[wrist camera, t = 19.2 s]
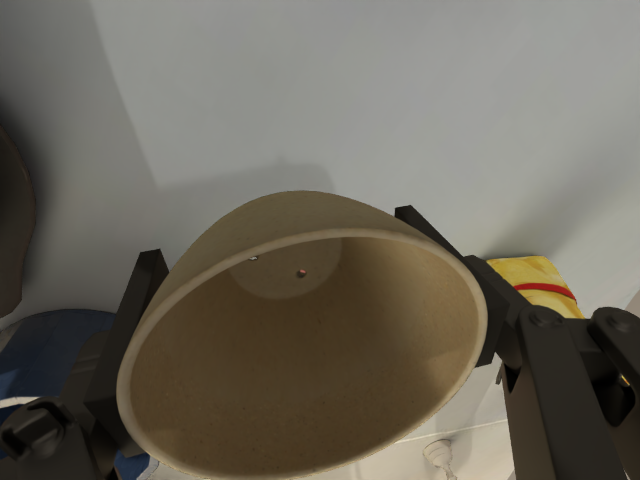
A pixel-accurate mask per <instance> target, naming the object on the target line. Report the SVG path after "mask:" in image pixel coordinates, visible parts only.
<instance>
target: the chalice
mask: <svg viewBox="0 0 640 480" xmlns="http://www.w3.org/2000/svg"><path fill="white" fill-rule="evenodd" d="M423 455H424V456H425V457H427V458H428V460H429V461H430V462H431V463H432V465H434V466H436V467H441V468H442V469H444V471H445V472H446V475H447V478H448V479H447V480H457V477H456V476H454V475H453V473H452V472H451V471H450V467H449V465H450V464H449V463H450V462H451V461H452V454H451V448H450V441H448V440H439V441H436V442H434V443H432V444H430V445H429V446H427V447H426V448H425V450H424V451H423Z"/></svg>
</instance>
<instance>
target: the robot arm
mask: <svg viewBox="0 0 640 480" xmlns="http://www.w3.org/2000/svg"><path fill="white" fill-rule="evenodd" d="M395 218H397V219H399V220H401V221H403V222H405V223H406V224H408V225H410V226H412V227H413V228H415V229H417V230H418V231H420V232H421V233H423V234H424V235H426V236H427V237H429V238H430V239H432V240H434V241H435V242H436V243H438V244H439V245H440V246H442V247H443V248H444V249H446V250H447V251H448V252H450V253H451V254H452V255H453V256H455V257H456V258H457V259H459V260H460V261H461V262H462V263H463V264H464V265H465V266H466V267H467V269H468V270H469V271H470V272H471V273H472V275H473V276H474V278H475V279H476V281H477V282H478V284H479V286H480V288H481V290H482V293H483V295H484V298H485V301H486V307H487V313H488V321H487V331H486V338H485V342H484V345H483V348H482V351H481V354H480V356H479V359H478V361H477V363H476V365H475V367H474V368H476V367H480V366H484V365H488V364H491V363H492V360H493V357H494V353H495V352H496V353H497V354H498V356H499V357H500V358H501V359H502V363H501V366H500V369H499V372H498V375H497V378H496V384H498V385H499V384H500V381H501V378H502V383H503V390H504V397H505V404H506V411H507V418H508V425H509V432H510V439H511V446H512V453H513V460H514V467H515V474H516V480H628V479H627V477H626V474H625V472H626V473H627V475H628V476H629V478H630V480H640V318H639V317H637V316H635V315H634V314H632V313H630V312H628V311H625V310H622V309H619V308H613V307H602V308H598V309H597V310H595V311H594V313H593V315H592V317H591V319H582V318H565V317H563V316H562V315H561V314H560V313H558V312H557V311H555V310H553V309H551V308H549V307H545V306H541V305H532V304H531V303H530V302H529V301H528V300H527V299H526V298H525V297H524V296H523V295H522V294H520V293H519V292H518V291H517V290H516V289H515V288H514V287H513V286H512V285H511V284H510V283H509V282H507V281H506V280H505V279H503V277H502V276H501V275H500V274H499V273H498V272H495V270H494V269H493V268H492V267H491V266H490V265H489V264H488V263H487V262H486V261H484V260H482V259H480V258H478V257H476V256H474V255H470V256H465V257H463V256H462V255H461V254H460V253H459V252H458V251H457V250H456V249H455V248H454V247H453V246H452V245H451V244H450V243H449V242H448V241H447V240H446V239H445V238H444V237H443V236H442V235H441V234H440V233H439V232H438V231H437V230H436V229H435V228H434V227H433V226H432V225H431V224H430V223H429V222H428V221H427V220H426V219H425V218H424V217H423V216H422V215H421V214H420V213H419V212H418V211H417V210H416V209H415V208H413V207H412V206H411V205H408V206H403V207H397V208H395ZM168 274H169V270H168V268H167V265H166V263H165V260H164V258H163V255H162V253H161V250H160V249H156V250H150V251H145V252H140V254H139V257H138V259H137V262H136V265H135V267H134V270H133V272H132V275H131V278H130V280H129V283H128V285H127V288H126V291H125V293H124V296H123V298H122V301H121V304H120V306H119V309H118V311H117V314H116V317H115V319H114V322H113V324H112V327H111V330H106V331H101V332H96V333H93V334H92V336H91V337H90V338H89V339H88V340H87V341H86V342H85V343H84V344H83V346H82V347H81V349H80V351H79V353H78V356H77V358H76V360H75V361H76V363H74V364H73V367H72V369H71V371H70V375H69V376H68V378H67V380H66V382H65V384H64V387H63V389H62V391H61V393H60V395H59V398H58V397H54V396H45V397H39V398H37V399H34V400H32V401H30V402H28V403H26V404H24V405H23V406H21V407H20V408H18V409H17V410H16V411H14V412H13V413H12V414H11V415H10V416H9V417H8V418H7V419H6V420H5V421H4V422H3V423H2V425H1V427H0V449H2V450H3V451H4V452H5V453H6V454H7V455H8V456H7V457H5V458H3V459H1V460H0V480H122V478H121V475H120V473H119V470H118V469H117V468H116V466H115V465H114V461H115V457H116V453H117V449H119V450H120V451H121V453H122V454H123V455H124V457H125V458H127V457H131V456H135V455H138V454H142V453H146V451H144V450H143V449H142V448H141V447H140V446H139V445H138V444H137V443H136V442H135V441H134V440H133V439H132V437H131V436H130V435H129V433H128V432H127V430H126V427H125V425H124V424H123V422H122V420H121V417H120V413H119V410H118V405H117V397H116V389H117V378H118V373H119V369H120V366H121V362H122V360H123V357H124V355H125V352H126V350H127V348H128V345H129V343H130V341H131V338H132V336H133V334H134V332H135V330H136V328H137V326H138V324H139V322H140V320H141V318H142V316H143V314H144V312H145V310H146V309H147V307H148V305H149V303H150V302H151V300H152V298H153V296H154V295H155V293H156V292H157V290H158V289H159V287H160V286H161V284H162V283H163V281H164V280H165V278H166V277H167V276H168ZM622 376H623V377H624V378H625V379H626V381H627V382H628V383H629V385H628V384H627V383H626V382H625V380H624V379H623V378H622ZM623 468H624V469H623ZM624 470H625V472H624Z"/></svg>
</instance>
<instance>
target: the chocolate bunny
mask: <svg viewBox="0 0 640 480" xmlns="http://www.w3.org/2000/svg"><path fill="white" fill-rule="evenodd" d="M485 261H486V262H487V263H488V264H489V265H490V266H491V267H492V268H493V269H494V270H495V272H498V273H499V274H500V275H501V276H502V277H503V279H505V280H506V281H507V282H509V283H510V284H511V285H512V286H513V287H514V288H515V289H516V290H517V291H518V292H519V293H520V294H522V295H523V296H524V297H525V298H526V299H527V300H528V301H529V302H530V303H531V304H532V305H541V306H545V307H549V308H551V309H553V310H555V311H557V312H558V313H560V314H561V315H562V316H563V317H565V318H582V319H585V317H584V316H583V315H582V313H581V311H580V310H579V308H578V307H577V302H576V299H575V297H574V295H573V294H572V292H571V291H570V289H569V288H568V286H567V285H566V283H565V282H564V280H563V279H562V277H561V276H560V274H559V272H558V271H557V269H556V268H555V267H554V265H553V264H552V263H551V262H550V261H549V260H548V259H546V258H545V257H541V256H527V257H518V258H501V259H490V260H485ZM622 378H623V379H624V380H625V382H626V383H627V384H628V385H629V383H628V382H627V381H626V379H625V378H624V377H623V376H622Z"/></svg>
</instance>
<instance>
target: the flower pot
mask: <svg viewBox="0 0 640 480" xmlns="http://www.w3.org/2000/svg"><path fill="white" fill-rule="evenodd" d="M252 257H256V258H257V259H253V260H251V259H250V258H252ZM300 270H304V271H305V273H302V272H301V271H300ZM487 321H488V313H487V307H486V301H485V298H484V295H483V293H482V290H481V288H480V286H479V284H478V282H477V281H476V279H475V278H474V276H473V275H472V273H471V272H470V271H469V270H468V269H467V267H466V266H465V265H464V264H463V263H462V262H461V261H460V260H459V259H457V258H456V257H455V256H453V255H452V254H451V253H450V252H448V251H447V250H446V249H444V248H443V247H442V246H440V245H439V244H438V243H436V242H435V241H434V240H432V239H430V238H429V237H427V236H426V235H424V234H423V233H421V232H420V231H418V230H417V229H415V228H413V227H412V226H410V225H408V224H406V223H405V222H403V221H401V220H399V219H397V218H395V217H394V216H392V215H390V214H388V213H386V212H384V211H381V210H379V209H377V208H374V207H372V206H370V205H367V204H364V203H362V202H359V201H356V200H353V199H350V198H346V197H343V196H339V195H335V194H330V193H324V192H317V191H287V192H279V193H275V194H270V195H267V196H263V197H260V198H257V199H255V200H252V201H250V202H248V203H246V204H244V205H242V206H240V207H238V208H236V209H234V210H233V211H231V212H230V213H228V214H227V215H225V216H224V217H222V218H221V219H220V220H218V221H217V222H216V223H215V224H213V225H212V226H211V227H210V228H209V229H208V230H206V231H205V232H204V233H203V234H202V235H201V236H200V237H199V238H198V239H197V240H196V241H195V242H194V243H193V244H192V245H191V246H190V248H189V249H188V250H187V251H186V252H185V253H184V255H183V256H182V257H181V258H180V259H179V261H178V262H177V263H176V265H175V266H174V267H173V269H172V270H171V271H170V273H169V274H168V276H167V277H166V278H165V280H164V281H163V283H162V284H161V286H160V287H159V289H158V290H157V292H156V293H155V295H154V296H153V298H152V300H151V302H150V303H149V305H148V307H147V309H146V310H145V312H144V314H143V316H142V318H141V320H140V322H139V324H138V326H137V328H136V330H135V332H134V334H133V336H132V338H131V341H130V343H129V345H128V348H127V350H126V352H125V355H124V357H123V360H122V362H121V366H120V369H119V373H118V378H117V389H116V397H117V405H118V410H119V413H120V417H121V420H122V422H123V424H124V425H125V427H126V430H127V432H128V433H129V435H130V436H131V437H132V439H133V440H134V441H135V442H136V443H137V444H138V445H139V446H140V447H141V448H142V449H143V450H144V451H146V452H147V453H148V454H149V455H150V456H152V457H153V458H155V459H156V460H158V461H159V462H161V463H163V464H165V465H167V466H169V467H171V468H173V469H175V470H178V471H180V472H183V473H185V474H189V475H192V476H195V477H200V478H204V479H211V480H291V479H297V478H302V477H307V476H311V475H314V474H319V473H323V472H327V471H330V470H333V469H336V468H339V467H343V466H346V465H348V464H351V463H353V462H356V461H359V460H361V459H364V458H366V457H368V456H370V455H372V454H374V453H376V452H378V451H380V450H382V449H384V448H386V447H388V446H390V445H391V444H393V443H395V442H397V441H398V440H400V439H402V438H403V437H405V436H406V435H408V434H409V433H411V432H412V431H414V430H415V429H417V428H418V427H419V426H421V425H422V424H423V423H425V422H426V421H427V420H428V419H429V418H431V417H432V416H433V415H434V414H435V413H437V412H438V411H439V410H440V409H441V408H442V407H443V406H444V405H445V404H446V403H447V402H448V401H449V400H450V399H451V398H452V397H453V396H454V395H455V394H456V393H457V392H458V390H459V389H460V388H461V387H462V385H463V384H464V383H465V381H466V380H467V379H468V377H469V375H470V374H471V372H472V370H473V369H474V367H475V365H476V363H477V361H478V359H479V356H480V354H481V351H482V348H483V345H484V342H485V338H486V331H487Z"/></svg>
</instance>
